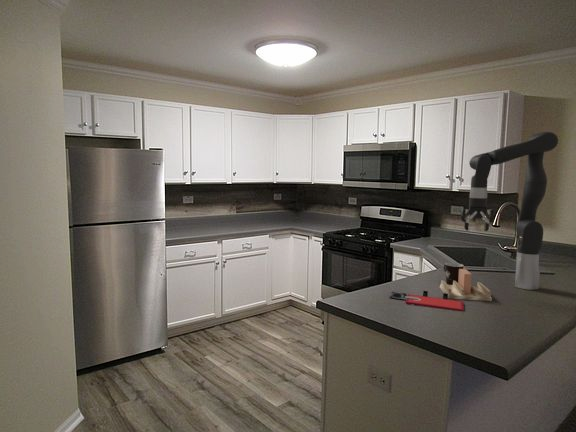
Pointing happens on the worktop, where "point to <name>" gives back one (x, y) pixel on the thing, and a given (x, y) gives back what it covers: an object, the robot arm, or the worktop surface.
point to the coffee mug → (452, 272)
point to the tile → (465, 280)
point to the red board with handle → (430, 301)
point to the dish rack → (458, 293)
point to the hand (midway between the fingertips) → (476, 230)
